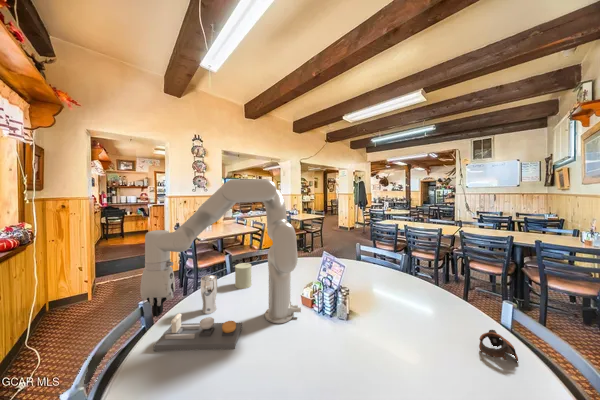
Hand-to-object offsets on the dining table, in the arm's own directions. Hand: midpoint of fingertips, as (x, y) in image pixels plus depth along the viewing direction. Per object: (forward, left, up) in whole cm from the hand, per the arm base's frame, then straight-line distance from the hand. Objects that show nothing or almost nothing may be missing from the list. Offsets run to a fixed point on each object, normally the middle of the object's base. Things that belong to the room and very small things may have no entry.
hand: (157, 314), depth 80 cm
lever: (-7, 0, -7) cm, 10 cm away
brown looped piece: (-118, +12, -10) cm, 119 cm away
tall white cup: (-12, -19, -10) cm, 24 cm away
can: (-22, -45, -10) cm, 51 cm away
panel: (-16, 0, -9) cm, 18 cm away
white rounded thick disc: (-18, 0, -5) cm, 18 cm away
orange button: (-26, 0, -7) cm, 26 cm away
